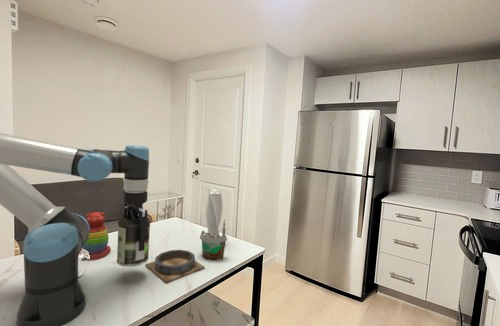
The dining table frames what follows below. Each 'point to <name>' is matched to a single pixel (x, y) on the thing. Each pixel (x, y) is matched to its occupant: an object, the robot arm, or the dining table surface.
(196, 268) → the board
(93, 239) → the stacking bear
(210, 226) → the skyscraper
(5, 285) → the dining table surface
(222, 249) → the food container
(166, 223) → the dining table surface
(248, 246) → the dining table surface
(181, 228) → the dining table surface
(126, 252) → the coffee can
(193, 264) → the collar
